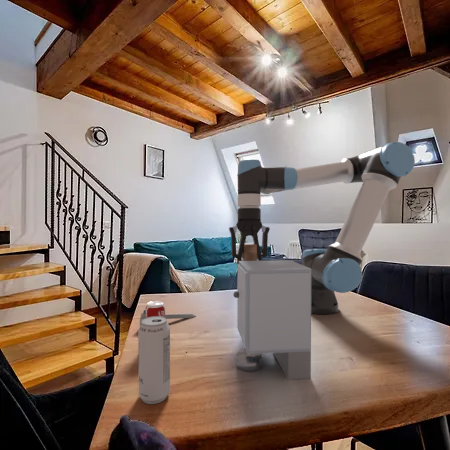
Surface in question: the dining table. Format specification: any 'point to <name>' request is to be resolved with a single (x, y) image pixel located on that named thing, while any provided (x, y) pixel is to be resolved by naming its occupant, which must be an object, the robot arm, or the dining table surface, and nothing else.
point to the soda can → (155, 309)
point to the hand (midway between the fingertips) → (249, 278)
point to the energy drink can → (154, 359)
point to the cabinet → (276, 312)
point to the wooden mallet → (250, 252)
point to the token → (248, 361)
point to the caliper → (169, 316)
